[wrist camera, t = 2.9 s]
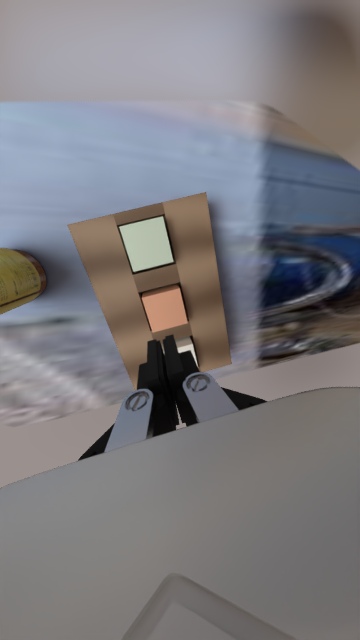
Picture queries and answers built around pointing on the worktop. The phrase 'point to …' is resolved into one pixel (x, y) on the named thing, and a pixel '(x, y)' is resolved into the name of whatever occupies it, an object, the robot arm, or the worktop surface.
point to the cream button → (184, 346)
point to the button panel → (158, 281)
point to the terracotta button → (164, 307)
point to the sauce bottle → (19, 279)
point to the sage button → (147, 243)
